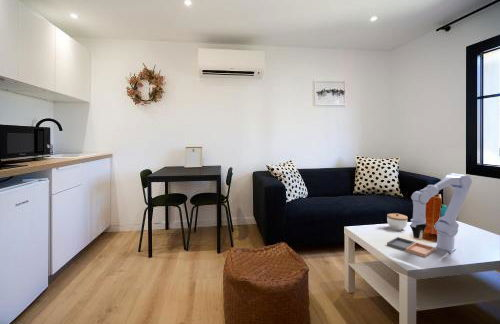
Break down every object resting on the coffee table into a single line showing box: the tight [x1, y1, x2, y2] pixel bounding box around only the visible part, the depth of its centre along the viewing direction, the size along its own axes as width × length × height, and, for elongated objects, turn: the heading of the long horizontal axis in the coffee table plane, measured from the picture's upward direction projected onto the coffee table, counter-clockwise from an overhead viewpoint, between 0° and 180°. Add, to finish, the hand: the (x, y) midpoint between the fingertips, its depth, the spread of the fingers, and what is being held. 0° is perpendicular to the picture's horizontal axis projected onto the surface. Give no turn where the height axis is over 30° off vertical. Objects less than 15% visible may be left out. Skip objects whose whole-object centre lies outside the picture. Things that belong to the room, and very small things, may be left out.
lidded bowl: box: [386, 212, 408, 231], centre depth 177 cm, size 13×13×11 cm
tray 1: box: [386, 236, 416, 252], centre depth 148 cm, size 14×10×2 cm
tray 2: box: [405, 241, 436, 258], centre depth 140 cm, size 14×10×2 cm
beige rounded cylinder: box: [412, 230, 424, 241], centre depth 140 cm, size 4×4×5 cm
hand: (418, 236), depth 140 cm, fingers closed on beige rounded cylinder, 4 cm apart
